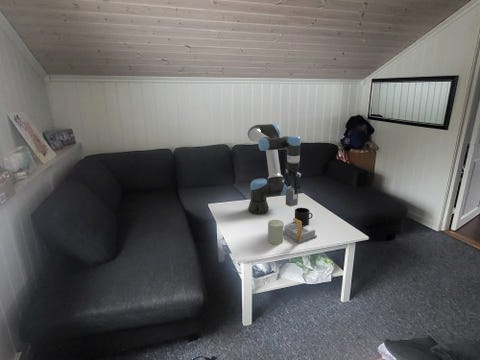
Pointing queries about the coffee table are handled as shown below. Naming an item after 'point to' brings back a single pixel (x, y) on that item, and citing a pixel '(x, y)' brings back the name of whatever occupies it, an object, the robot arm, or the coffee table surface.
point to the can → (275, 232)
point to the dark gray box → (291, 198)
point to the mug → (303, 215)
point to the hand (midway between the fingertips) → (291, 197)
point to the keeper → (298, 232)
